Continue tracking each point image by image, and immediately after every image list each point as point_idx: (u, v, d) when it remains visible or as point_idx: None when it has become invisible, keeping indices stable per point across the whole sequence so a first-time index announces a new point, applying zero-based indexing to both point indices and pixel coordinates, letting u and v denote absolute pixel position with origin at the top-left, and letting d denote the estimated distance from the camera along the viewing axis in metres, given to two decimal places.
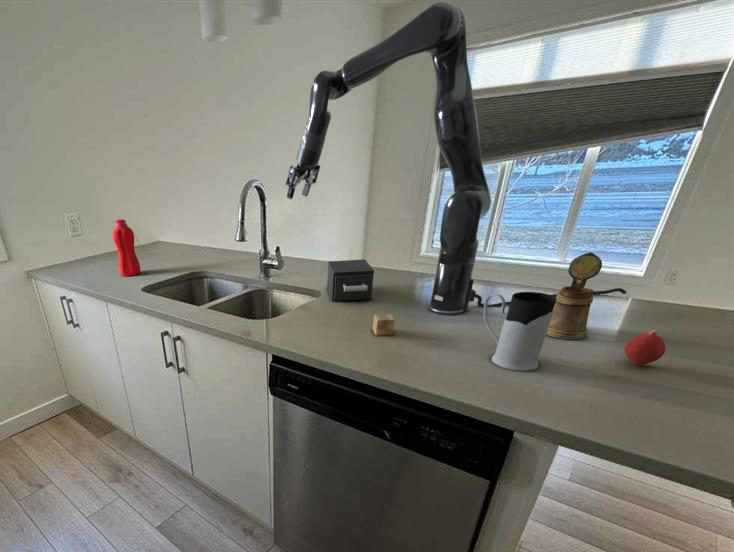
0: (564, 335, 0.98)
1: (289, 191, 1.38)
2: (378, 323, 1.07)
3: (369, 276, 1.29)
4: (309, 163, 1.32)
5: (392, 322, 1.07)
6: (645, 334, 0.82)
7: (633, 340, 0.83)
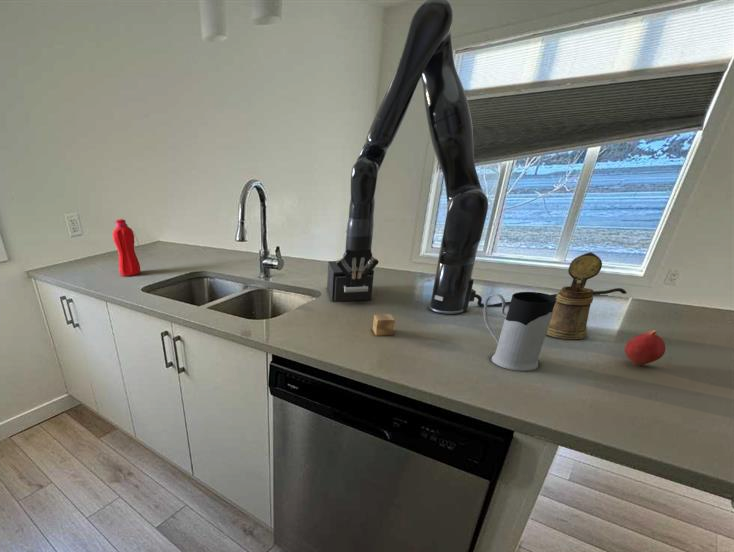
0: (564, 335, 0.98)
1: (350, 282, 1.28)
2: (378, 323, 1.07)
3: (370, 277, 1.28)
4: (351, 249, 1.20)
5: (392, 322, 1.07)
6: (645, 334, 0.82)
7: (633, 340, 0.83)
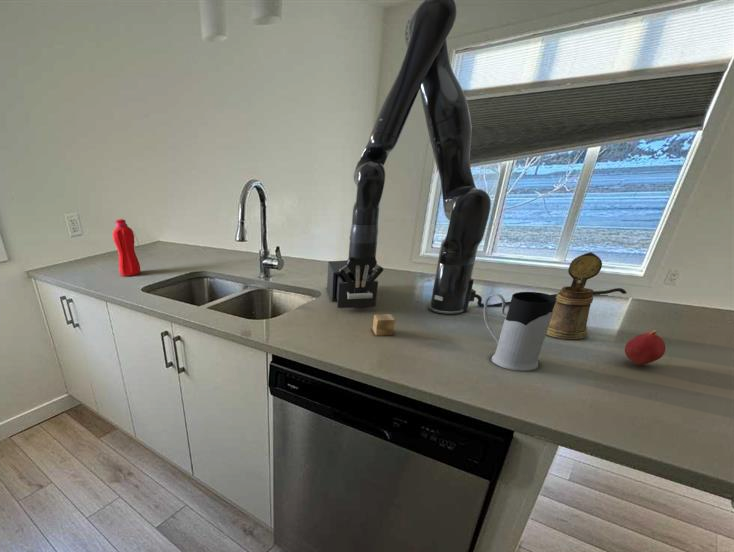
0: (564, 335, 0.98)
1: (354, 290, 1.22)
2: (378, 323, 1.07)
3: (374, 283, 1.22)
4: (355, 256, 1.14)
5: (392, 322, 1.07)
6: (645, 334, 0.82)
7: (633, 340, 0.83)
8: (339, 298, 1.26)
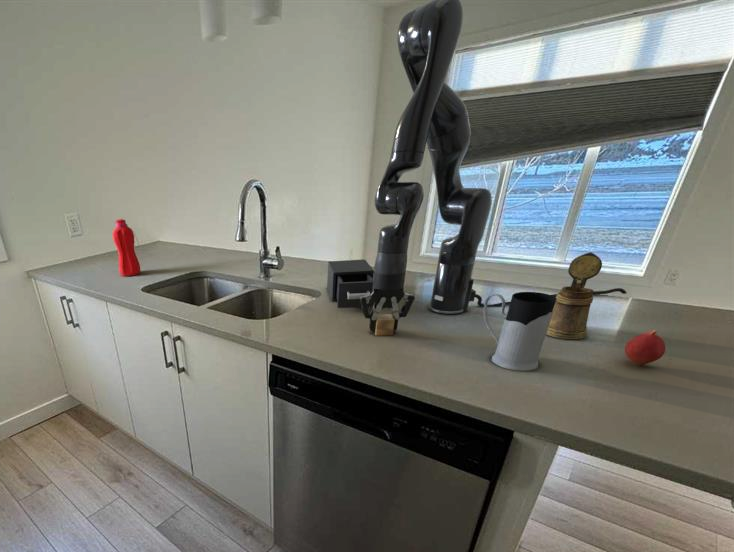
0: (564, 335, 0.98)
1: (370, 323, 1.10)
2: (378, 323, 1.07)
3: None
4: (380, 288, 1.02)
5: (392, 322, 1.07)
6: (645, 334, 0.82)
7: (633, 340, 0.83)
8: (339, 298, 1.26)
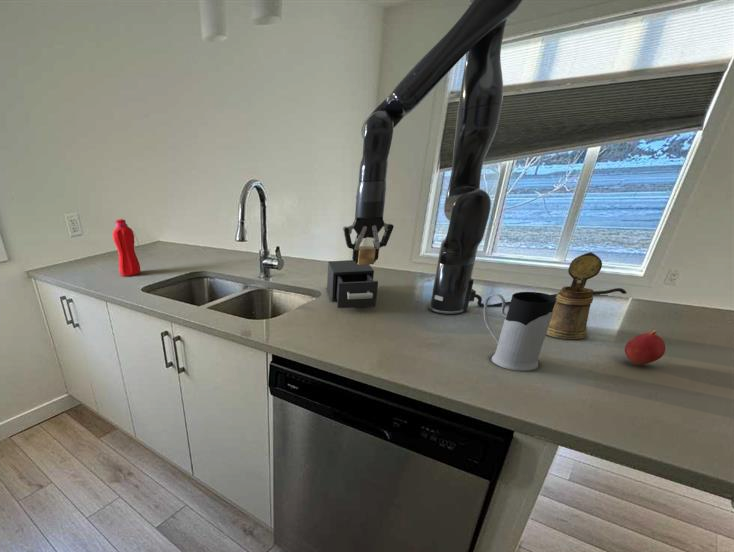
0: (564, 335, 0.98)
1: (353, 254, 1.18)
2: (360, 252, 1.15)
3: (374, 283, 1.22)
4: (362, 216, 1.10)
5: (373, 251, 1.15)
6: (645, 334, 0.82)
7: (633, 340, 0.83)
8: (339, 298, 1.26)
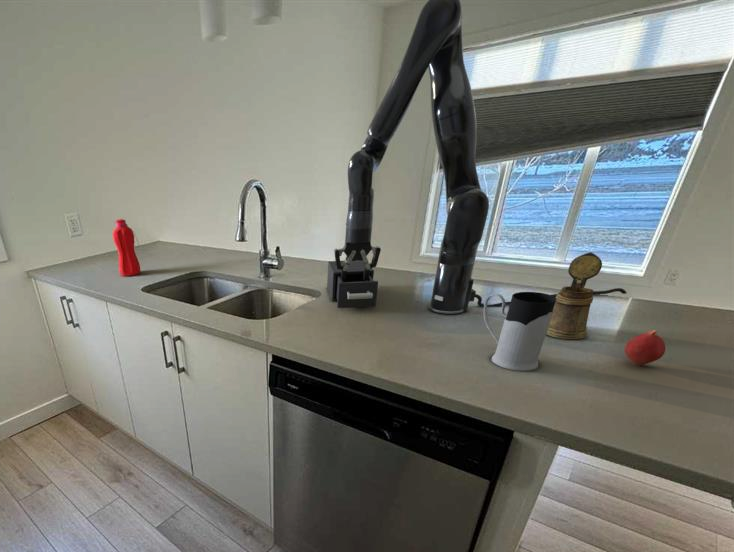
0: (564, 335, 0.98)
1: (341, 274, 1.28)
2: None
3: (374, 283, 1.22)
4: (351, 242, 1.21)
5: None
6: (645, 334, 0.82)
7: (633, 340, 0.83)
8: (339, 298, 1.26)
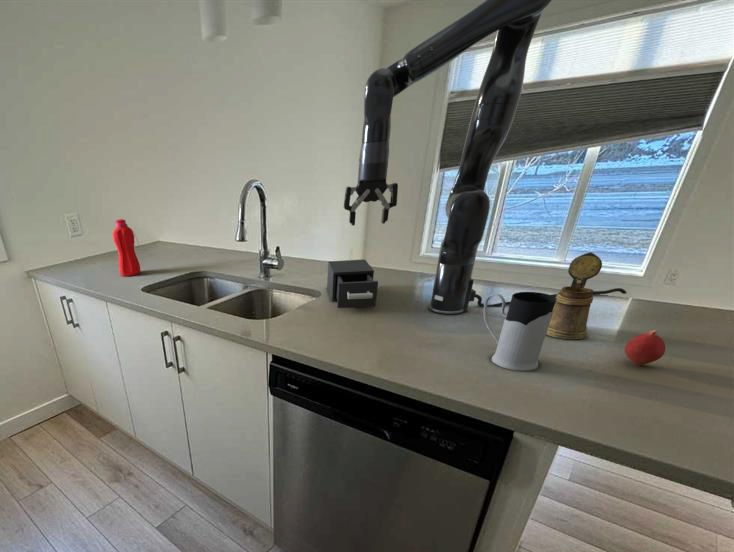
0: (564, 335, 0.98)
1: None
2: None
3: (374, 283, 1.22)
4: (365, 179, 1.09)
5: None
6: (645, 334, 0.82)
7: (633, 340, 0.83)
8: (339, 298, 1.26)
